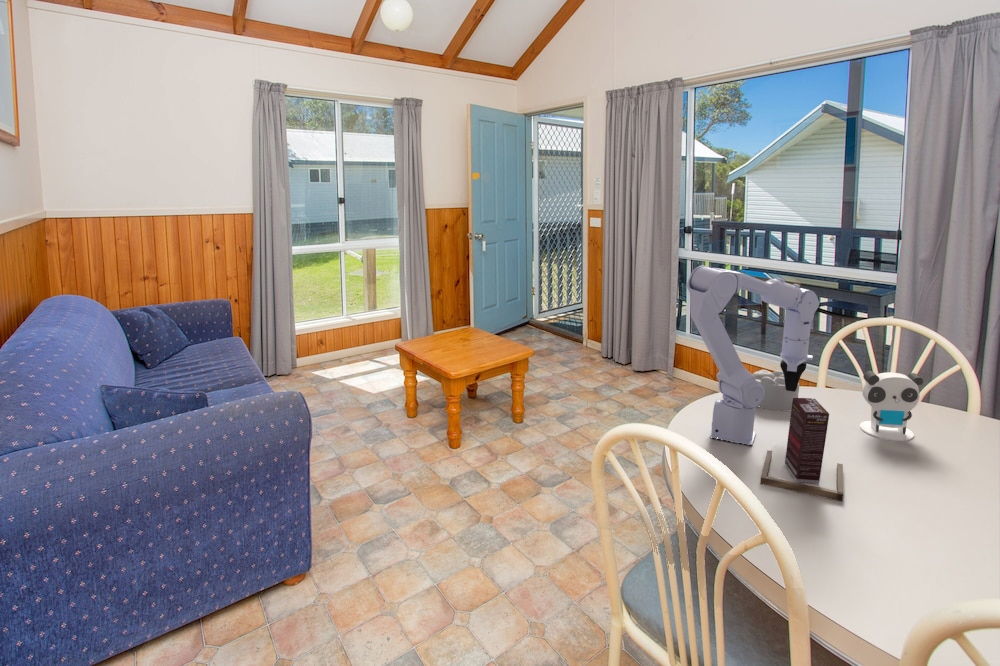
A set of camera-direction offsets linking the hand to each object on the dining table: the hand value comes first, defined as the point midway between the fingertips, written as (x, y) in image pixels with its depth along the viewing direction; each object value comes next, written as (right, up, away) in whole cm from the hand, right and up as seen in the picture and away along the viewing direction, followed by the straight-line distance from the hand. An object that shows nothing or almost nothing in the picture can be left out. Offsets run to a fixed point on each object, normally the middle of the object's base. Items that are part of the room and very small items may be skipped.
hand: (790, 390), depth 147 cm
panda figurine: (+24, -10, +1) cm, 26 cm away
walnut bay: (-7, -16, -20) cm, 27 cm away
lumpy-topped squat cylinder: (+4, -6, +20) cm, 21 cm away
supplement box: (-7, -16, -19) cm, 26 cm away
